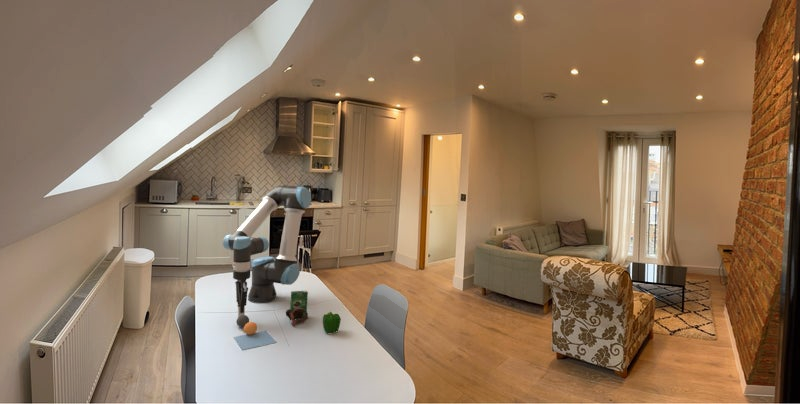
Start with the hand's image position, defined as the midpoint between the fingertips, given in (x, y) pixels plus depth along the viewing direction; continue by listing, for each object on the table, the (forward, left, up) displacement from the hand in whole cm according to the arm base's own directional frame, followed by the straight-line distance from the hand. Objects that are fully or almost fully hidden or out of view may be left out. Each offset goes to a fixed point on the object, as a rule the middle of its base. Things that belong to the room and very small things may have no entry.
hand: (241, 318), depth 189 cm
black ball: (+1, +6, +1) cm, 6 cm away
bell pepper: (-32, +30, -2) cm, 44 cm away
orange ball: (0, +15, +1) cm, 15 cm away
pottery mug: (-23, +12, -2) cm, 26 cm away
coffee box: (-26, +6, -2) cm, 27 cm away
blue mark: (0, +22, -2) cm, 22 cm away
